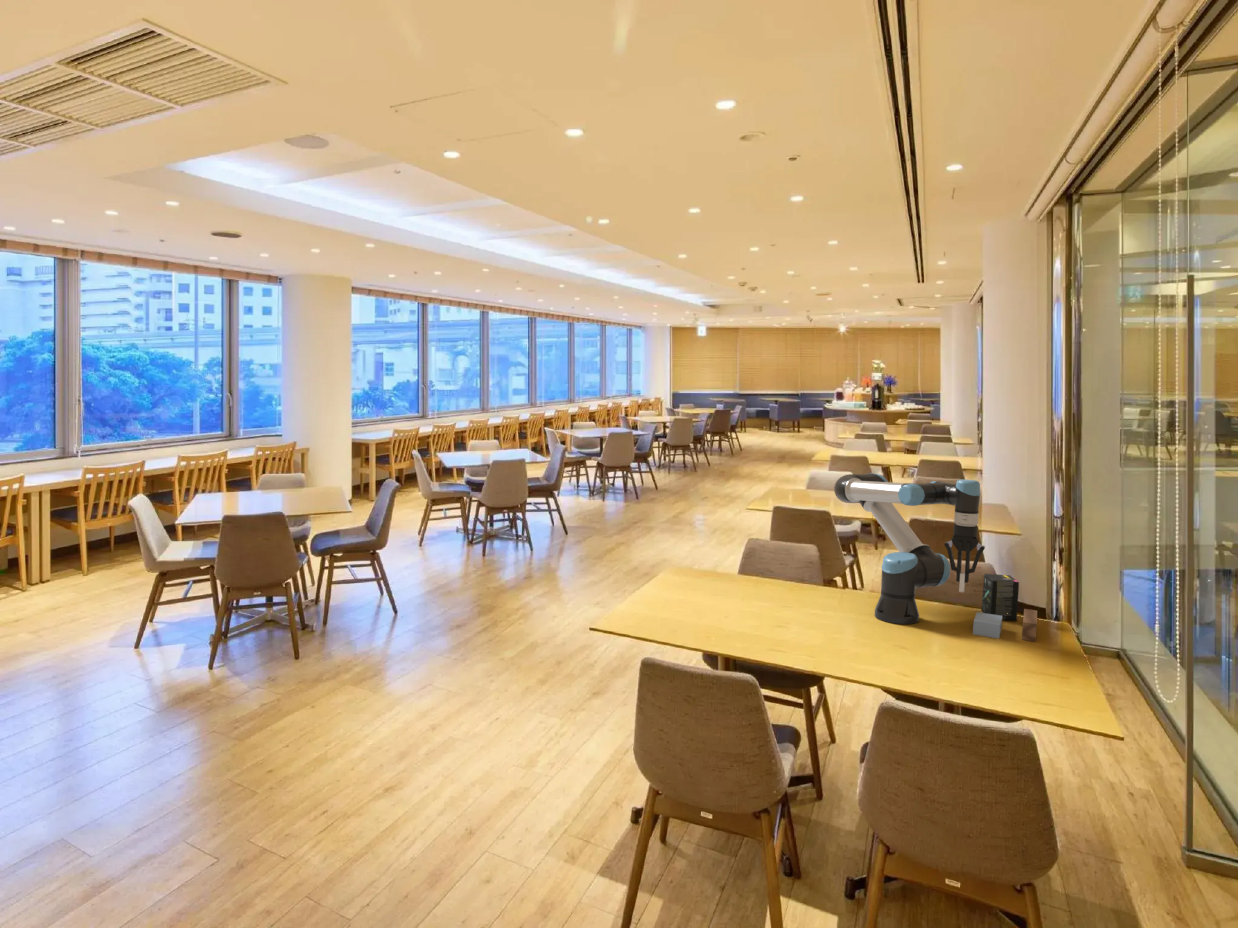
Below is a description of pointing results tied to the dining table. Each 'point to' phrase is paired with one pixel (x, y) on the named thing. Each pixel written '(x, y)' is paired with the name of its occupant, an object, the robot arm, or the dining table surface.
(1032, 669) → the dining table surface
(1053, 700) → the dining table surface
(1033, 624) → the walnut board
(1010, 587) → the tampon box
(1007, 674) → the dining table surface
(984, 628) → the block
